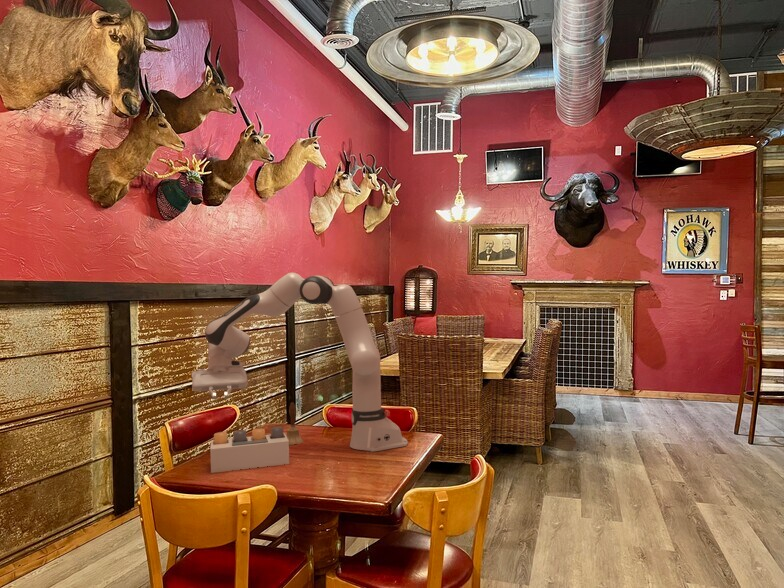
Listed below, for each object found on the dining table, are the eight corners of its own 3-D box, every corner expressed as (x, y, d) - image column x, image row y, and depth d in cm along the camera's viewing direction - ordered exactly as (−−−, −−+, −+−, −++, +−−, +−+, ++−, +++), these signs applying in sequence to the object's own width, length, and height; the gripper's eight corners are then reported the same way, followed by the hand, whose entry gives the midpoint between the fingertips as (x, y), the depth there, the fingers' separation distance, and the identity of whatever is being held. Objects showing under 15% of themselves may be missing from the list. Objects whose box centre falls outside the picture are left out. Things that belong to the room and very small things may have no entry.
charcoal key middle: (246, 447, 195) (245, 429, 195) (246, 451, 191) (246, 432, 191) (233, 449, 194) (233, 430, 194) (233, 452, 190) (233, 433, 190)
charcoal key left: (283, 443, 199) (282, 426, 199) (284, 447, 195) (283, 429, 195) (270, 445, 198) (270, 427, 198) (271, 448, 193) (271, 430, 193)
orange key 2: (264, 445, 197) (264, 427, 197) (265, 449, 193) (265, 430, 193) (252, 447, 196) (251, 429, 196) (253, 450, 191) (252, 432, 191)
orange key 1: (227, 449, 193) (227, 431, 193) (227, 453, 189) (227, 434, 189) (214, 451, 192) (214, 432, 192) (214, 454, 188) (213, 435, 188)
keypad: (285, 454, 201) (285, 431, 201) (289, 464, 189) (288, 439, 189) (212, 462, 193) (211, 439, 193) (211, 473, 182) (210, 448, 182)
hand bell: (307, 441, 219) (306, 401, 219) (293, 446, 212) (292, 405, 212) (292, 438, 223) (291, 399, 223) (278, 443, 216) (277, 403, 216)
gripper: (191, 365, 207) (190, 395, 198) (246, 361, 213) (248, 390, 204) (192, 375, 211) (191, 404, 202) (246, 371, 217) (248, 400, 208)
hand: (220, 397), depth 203 cm, fingers open, 3 cm apart
